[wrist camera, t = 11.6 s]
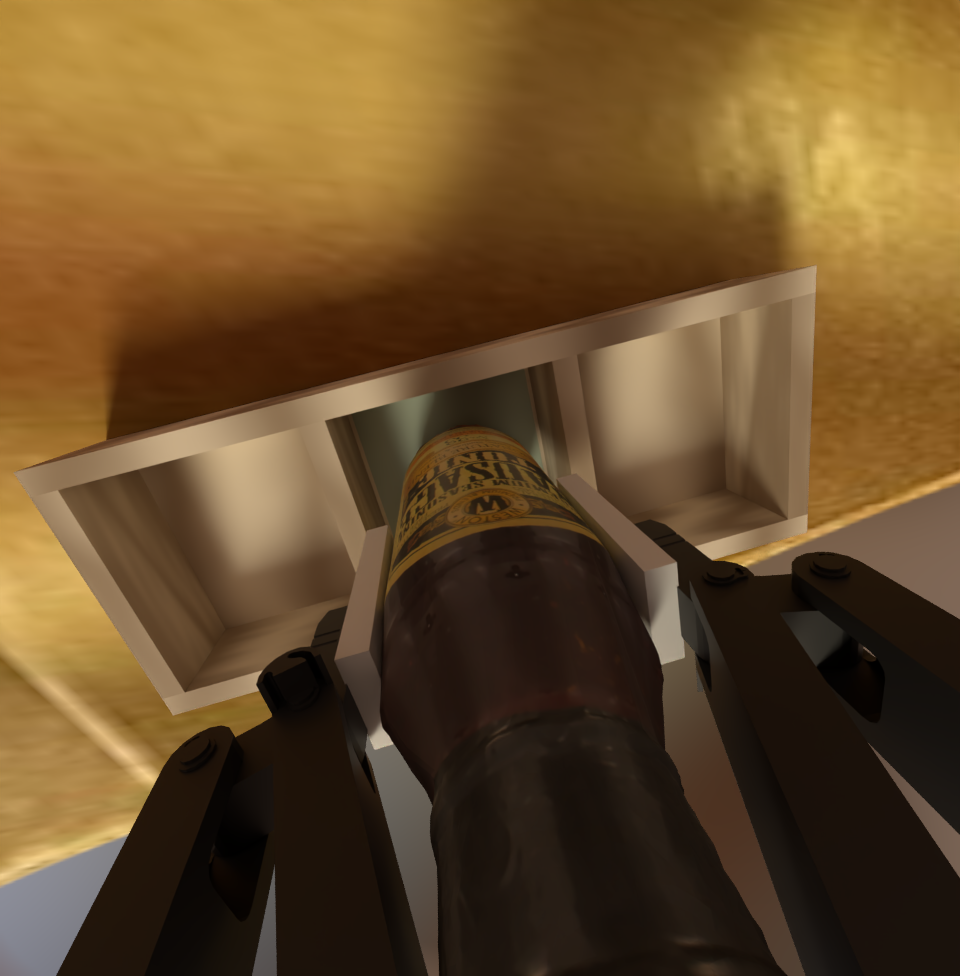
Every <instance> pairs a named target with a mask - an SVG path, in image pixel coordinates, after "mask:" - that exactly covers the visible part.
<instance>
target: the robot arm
mask: <svg viewBox="0 0 960 976" xmlns="http://www.w3.org/2000/svg"><path fill="white" fill-rule="evenodd" d="M556 481H557V486H558V489H559V491H560V492H561V493H562V494H563V495H564V497H565V498H566V499H567V500H568V501H569V502H570V504H571V505H572V507H573V508H574V509H575V511H576V512H577V513H578V514H579V516H580V517H581V518H582V519H583V521H584V522H585V523H586V524H587V525H588V527H589V528H591V530H592V531H593V533H594V534H595V535H596V537H597V538H598V539H599V541H600V542H601V543H602V544H603V546H604V547H605V548H606V550H607V551H608V552H609V554H610V556H611V558H612V560H613V562H614V564H615V566H616V568H617V570H618V572H619V574H620V576H621V578H622V580H623V582H624V584H625V586H626V588H627V590H628V592H629V595H630V597H631V599H632V601H633V603H634V605H635V607H636V609H637V611H638V613H639V615H640V617H641V619H642V621H643V623H644V625H645V627H646V629H647V631H648V633H649V635H650V637H651V639H652V641H653V643H654V645H655V647H656V650H657V652H658V654H659V658H660V662H661V665H662V664H665V663H668V662H672V661H675V660H678V659H681V658H685V654H684V641H683V639H684V640H685V641H686V642H687V643H688V644H689V645H690V647H691V648H692V649H693V650H694V651H695V660H696V673H697V687H698V692H702V691H703V688H704V691H705V694H706V697H707V699H708V702H709V705H710V708H711V711H712V713H713V716H714V719H715V722H716V725H717V728H718V730H719V733H720V736H721V739H722V742H723V744H724V747H725V750H726V753H727V756H728V759H729V761H730V764H731V767H732V770H733V773H734V776H735V778H736V781H737V784H738V787H739V790H740V792H741V795H742V798H743V801H744V804H745V807H746V809H747V812H748V815H749V818H750V820H751V823H752V826H753V829H754V832H755V835H756V838H757V840H758V843H759V846H760V849H761V852H762V854H763V857H764V860H765V863H766V866H767V869H768V871H769V874H770V877H771V880H772V883H773V885H774V888H775V891H776V894H777V897H778V900H779V902H780V905H781V908H782V911H783V913H784V916H785V919H786V922H787V925H788V928H789V930H790V933H791V936H792V939H793V942H794V945H795V947H796V950H797V953H798V956H799V959H800V961H801V964H802V967H803V970H804V972H805V976H960V878H959V876H958V875H957V873H956V872H955V871H954V869H953V867H952V866H951V864H950V863H949V861H948V860H947V859H946V857H945V856H944V854H943V853H942V851H941V850H940V848H939V847H938V845H937V844H936V842H935V841H934V840H933V838H932V837H931V835H930V834H929V832H928V831H927V829H926V828H925V826H924V825H923V823H922V822H921V820H920V819H919V817H918V816H917V815H916V813H915V812H914V810H913V808H912V807H911V806H910V804H909V803H908V801H907V800H906V798H905V797H904V795H903V794H902V792H901V791H900V789H899V788H898V787H897V785H896V783H895V782H894V781H893V779H892V778H891V776H890V775H889V773H888V772H887V770H886V769H885V768H884V766H883V764H882V763H881V761H880V760H879V758H878V757H877V756H876V754H875V753H874V751H873V750H872V748H871V747H870V745H871V746H872V747H873V748H874V749H875V750H876V751H877V752H878V753H879V754H880V755H881V756H882V757H883V758H884V759H885V760H886V761H887V762H888V763H889V764H890V765H891V766H892V767H893V768H894V769H895V770H896V771H897V772H898V773H899V774H900V775H901V776H902V777H903V778H904V779H905V780H906V781H907V782H908V783H909V784H910V785H911V786H912V787H913V788H914V789H915V790H916V791H917V792H918V793H919V794H920V795H921V796H922V797H923V798H924V799H925V800H926V801H927V802H928V803H929V804H930V805H931V806H932V807H933V808H934V809H935V810H936V811H937V812H938V813H939V814H940V815H941V816H942V817H943V818H944V819H945V820H946V821H947V822H948V823H949V824H950V825H951V826H952V827H953V828H954V829H955V830H956V831H957V832H958V833H959V834H960V619H958V618H957V617H955V616H953V615H952V614H949V613H948V612H946V611H945V610H943V609H941V608H939V607H938V606H936V605H934V604H933V603H931V602H929V601H927V600H926V599H924V598H922V597H921V596H919V595H917V594H915V593H914V592H912V591H910V590H908V589H907V588H905V587H903V586H902V585H900V584H898V583H896V582H895V581H893V580H891V579H890V578H888V577H886V576H884V575H883V574H881V573H879V572H878V571H876V570H874V569H872V568H871V567H869V566H867V565H866V564H864V563H862V562H860V561H858V560H856V559H853V558H851V557H849V556H845V555H841V554H836V553H831V552H815V553H806V554H803V555H801V556H798V557H796V559H795V560H794V561H793V562H792V574H785V575H772V576H754V574H753V573H752V572H750V571H749V570H748V569H747V568H746V567H743V566H741V565H739V564H736V563H732V562H727V561H712V560H711V559H710V558H708V557H707V556H706V555H705V554H703V553H702V552H701V551H699V550H698V549H697V548H696V547H694V546H693V545H692V544H690V543H689V542H688V541H685V539H684V538H683V537H681V536H680V535H679V534H676V532H675V531H674V530H672V529H671V528H670V527H668V526H667V525H666V524H663V523H660V522H657V521H654V520H651V519H649V520H646V521H642V522H639V523H635V524H633V523H632V522H631V521H630V520H628V519H627V518H626V517H625V516H624V515H623V514H622V513H621V512H619V511H618V510H617V509H616V508H615V507H614V506H613V505H611V504H610V503H609V502H608V501H607V500H606V499H605V498H604V497H602V496H601V495H600V494H599V493H598V492H597V491H596V490H595V489H593V488H592V487H591V486H590V485H589V484H588V483H587V482H585V481H584V480H583V479H582V478H581V477H580V476H579V475H578V474H572V475H568V476H565V477H561V478H557V479H556ZM393 547H394V541H393V538H392V535H391V532H390V530H389V527H388V525H385V526H382V527H378V528H375V529H371V530H367V532H366V536H365V540H364V544H363V548H362V552H361V556H360V560H359V564H358V568H357V572H356V576H355V580H354V584H353V588H352V592H351V596H350V600H349V604H348V606H344V607H341V608H337V609H334V610H330V611H328V612H327V613H326V615H325V616H324V617H323V618H322V620H321V621H320V622H319V623H318V625H317V628H316V631H315V634H314V639H313V640H312V643H311V646H308V647H299V648H296V649H293V650H290V651H287V652H286V653H284V654H282V655H281V656H279V657H277V658H276V659H274V660H273V661H272V662H271V663H270V664H268V665H267V666H266V667H265V668H264V670H263V671H262V672H261V674H260V675H259V677H258V680H257V683H256V686H257V687H258V689H259V691H260V693H261V695H262V697H263V698H264V700H265V702H266V704H267V706H268V708H269V709H270V711H271V713H272V717H271V718H270V719H268V720H266V721H265V722H263V723H262V724H260V725H258V726H256V727H254V728H252V729H250V730H248V731H247V732H245V733H243V734H241V735H239V736H237V737H235V736H234V734H233V733H232V731H231V730H230V728H229V727H225V726H216V727H211V728H208V729H206V730H204V731H202V732H200V733H198V734H196V735H194V736H193V737H192V738H190V739H188V740H187V741H186V742H185V743H183V744H182V745H181V746H180V747H179V748H178V749H177V750H176V751H175V752H174V753H173V754H172V755H171V757H170V758H169V760H168V761H167V762H166V764H165V765H164V767H163V769H162V771H161V773H160V775H159V777H158V779H157V780H156V782H155V784H154V786H153V788H152V790H151V792H150V794H149V796H148V798H147V800H146V802H145V804H144V806H143V808H142V810H141V812H140V814H139V815H138V817H137V819H136V821H135V823H134V825H133V827H132V829H131V831H130V833H129V835H128V837H127V839H126V841H125V843H124V845H123V847H122V849H121V850H120V853H119V854H118V856H117V858H116V860H115V862H114V864H113V866H112V868H111V870H110V872H109V874H108V876H107V878H106V880H105V882H104V884H103V885H102V888H101V889H100V891H99V893H98V895H97V897H96V899H95V901H94V903H93V905H92V907H91V909H90V911H89V913H88V915H87V917H86V919H85V921H84V923H83V924H82V926H81V928H80V930H79V932H78V934H77V936H76V938H75V940H74V942H73V944H72V946H71V948H70V950H69V952H68V954H67V956H66V957H65V960H64V961H63V963H62V965H61V967H60V969H59V971H58V973H57V975H56V976H252V972H253V967H254V963H255V957H256V953H257V948H258V943H259V939H260V934H261V929H262V924H263V919H264V914H265V909H266V904H267V899H268V895H269V890H270V885H271V880H272V875H273V870H274V866H275V895H276V897H275V898H276V949H277V976H428V973H427V969H426V966H425V962H424V958H423V954H422V951H421V947H420V943H419V940H418V936H417V932H416V928H415V925H414V921H413V917H412V914H411V910H410V906H409V902H408V899H407V895H406V891H405V888H404V884H403V880H402V877H401V873H400V869H399V865H398V862H397V858H396V854H395V851H394V847H393V843H392V839H391V836H390V832H389V828H388V824H387V821H386V817H385V813H384V809H383V806H382V802H381V798H380V795H379V791H378V787H377V784H376V780H375V776H374V772H373V769H372V765H371V763H370V760H369V758H368V756H367V754H366V752H365V748H366V740H367V734H368V736H369V738H370V741H371V743H372V745H373V747H374V749H379V748H382V747H385V746H389V745H392V744H394V743H393V742H392V741H391V739H390V737H389V735H388V734H387V733H386V732H385V731H384V729H383V728H382V724H381V718H380V694H381V672H382V647H383V620H384V603H385V596H386V590H387V584H388V578H389V572H390V566H391V561H392V555H393ZM863 647H866V648H867V649H868V650H869V651H871V653H872V654H873V655H874V656H875V657H874V656H872V655H871V654H870V653H868V652H867V651H866V650H865V649H863ZM868 743H869V744H870V745H869V744H868Z"/></svg>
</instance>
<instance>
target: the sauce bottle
mask: <svg viewBox="0 0 960 976" xmlns="http://www.w3.org/2000/svg"><path fill="white" fill-rule="evenodd" d="M663 681H664V679H663V674H662V669H661V662H660V658H659V654H658V652H657V650H656V647H655V645H654V643H653V641H652V639H651V637H650V635H649V633H648V631H647V629H646V627H645V625H644V623H643V621H642V619H641V617H640V615H639V613H638V611H637V609H636V607H635V605H634V603H633V601H632V599H631V597H630V595H629V592H628V590H627V588H626V586H625V584H624V582H623V580H622V578H621V576H620V574H619V572H618V570H617V568H616V566H615V564H614V562H613V560H612V558H611V556H610V554H609V552H608V551H607V550H606V548H605V547H604V546H603V544H602V543H601V542H600V541H599V539H598V538H597V537H596V535H595V534H594V533H593V531H592V530H591V528H589V527H588V525H587V524H586V523H585V522H584V521H583V519H582V518H581V517H580V516H579V514H578V513H577V512H576V511H575V509H574V508H573V507H572V505H571V504H570V502H569V501H568V500H567V499H566V498H565V497H564V495H563V494H562V493H561V492H560V491H559V489H558V488H557V487H556V486H555V484H554V483H553V482H552V480H551V479H550V478H549V477H548V476H547V475H546V473H545V472H544V471H543V470H542V468H541V467H540V466H539V465H538V463H537V462H536V461H535V460H534V458H533V457H532V456H531V455H530V454H529V452H528V451H527V450H526V449H525V448H524V447H523V446H522V445H521V444H520V443H519V442H518V441H517V440H516V439H514V438H512V437H510V436H509V435H507V434H505V433H503V432H500V431H497V430H495V429H493V428H488V427H484V426H480V425H477V424H475V425H457V426H455V427H452V428H450V429H448V430H446V431H444V432H442V433H441V434H437V435H436V436H435V437H433V438H432V439H431V440H430V441H428V442H427V443H425V444H424V445H423V446H422V447H421V448H420V449H419V450H418V451H417V453H416V455H415V457H414V458H413V459H412V461H411V463H410V465H409V467H408V469H407V471H406V474H405V478H404V482H403V488H402V495H401V503H400V509H399V516H398V521H397V526H396V533H395V539H394V547H393V555H392V561H391V566H390V572H389V578H388V584H387V590H386V596H385V603H384V620H383V647H382V672H381V694H380V718H381V724H382V728H383V729H384V731H385V732H386V733H387V734H388V735H389V737H390V739H391V741H392V742H393V743H394V745H395V746H396V747H397V749H398V750H399V752H400V753H401V755H402V756H403V758H404V760H405V761H406V763H407V764H408V766H409V768H410V769H411V771H412V773H413V774H414V775H415V776H416V778H417V779H418V781H419V782H420V783H421V785H422V786H423V787H424V789H425V790H426V792H427V794H428V797H429V799H430V801H431V803H432V805H433V807H432V812H431V816H430V837H431V844H432V848H433V852H434V857H435V860H436V865H437V878H438V952H439V976H787V975H786V974H785V973H784V971H783V970H782V969H781V968H780V967H779V966H778V965H777V963H776V961H775V960H774V958H773V956H772V954H771V952H770V950H769V948H768V945H767V943H766V940H765V937H764V935H763V932H762V930H761V928H760V927H759V926H758V924H757V923H756V921H755V920H754V918H753V917H752V916H751V914H750V912H749V910H748V909H747V907H746V905H745V903H744V901H743V899H742V897H741V896H740V894H739V892H738V890H737V888H736V887H735V885H734V884H733V882H732V881H731V879H730V878H729V876H728V875H727V874H726V872H725V871H724V869H723V866H722V864H721V861H720V859H719V856H718V854H717V851H716V849H715V846H714V844H713V842H712V841H711V839H710V838H709V836H708V835H707V833H706V832H705V830H704V829H703V827H702V826H701V824H700V822H699V820H698V818H697V816H696V814H695V812H694V811H693V809H692V808H691V807H690V805H689V804H688V802H687V800H686V798H685V796H684V789H683V787H682V785H681V779H680V775H679V774H678V771H677V768H676V766H675V764H674V763H673V761H672V759H671V758H670V756H669V754H668V753H667V752H666V751H665V736H664V715H663V703H662V702H663V701H662V690H663Z"/></svg>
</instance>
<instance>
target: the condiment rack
mask: <svg viewBox="0 0 960 976" xmlns="http://www.w3.org/2000/svg"><path fill="white" fill-rule="evenodd" d="M816 266H817V265H815V266H809V267H803V268H797V269H791V270H785V271H779V272H773V273H767V274H761V275H756V276H750V277H744V278H738V279H732V280H728V281H724V282H720V283H716V284H712V285H708V286H704V287H701V288H697V289H693V290H689V291H685V292H681V293H677V294H673V295H669V296H666V297H662V298H658V299H654V300H650V301H646V302H642V303H638V304H634V305H631V306H627V307H623V308H619V309H615V310H611V311H607V312H603V313H599V314H596V315H592V316H588V317H584V318H580V319H576V320H572V321H568V322H564V323H561V324H557V325H553V326H549V327H545V328H541V329H537V330H533V331H529V332H526V333H522V334H518V335H514V336H510V337H506V338H502V339H498V340H494V341H491V342H487V343H483V344H479V345H475V346H471V347H467V348H463V349H460V350H456V351H452V352H448V353H444V354H440V355H436V356H432V357H428V358H425V359H421V360H417V361H413V362H409V363H405V364H401V365H397V366H393V367H390V368H386V369H382V370H378V371H374V372H370V373H366V374H362V375H358V376H355V377H351V378H347V379H343V380H339V381H335V382H331V383H327V384H323V385H320V386H316V387H312V388H308V389H304V390H300V391H296V392H292V393H288V394H285V395H281V396H277V397H273V398H269V399H265V400H261V401H257V402H253V403H250V404H246V405H242V406H238V407H234V408H230V409H226V410H222V411H218V412H215V413H211V414H207V415H203V416H199V417H195V418H191V419H187V420H183V421H180V422H176V423H172V424H168V425H164V426H160V427H156V428H152V429H148V430H145V431H141V432H137V433H133V434H129V435H125V436H121V437H117V438H113V439H110V440H106V441H103V442H100V443H97V444H94V445H91V446H88V447H85V448H83V449H80V450H77V451H74V452H71V453H68V454H65V455H62V456H59V457H57V458H54V459H51V460H48V461H45V462H42V463H39V464H36V465H33V466H31V467H28V468H25V469H22V470H19V471H16V472H14V474H15V475H16V477H17V478H18V480H19V481H20V483H21V484H22V486H23V488H24V489H25V491H26V492H27V494H28V495H29V497H30V498H31V500H32V501H33V503H34V504H35V506H36V507H37V509H38V510H39V512H40V513H41V515H42V516H43V518H44V519H45V521H46V523H47V524H48V526H49V527H50V529H51V530H52V532H53V533H54V535H55V536H56V538H57V539H58V541H59V542H60V544H61V545H62V547H63V548H64V550H65V551H66V553H67V554H68V556H69V558H70V559H71V561H72V562H73V564H74V565H75V567H76V568H77V570H78V571H79V573H80V574H81V576H82V577H83V579H84V580H85V582H86V583H87V585H88V586H89V588H90V589H91V591H92V593H93V594H94V596H95V597H96V599H97V600H98V602H99V603H100V605H101V606H102V608H103V609H104V611H105V612H106V614H107V615H108V617H109V618H110V620H111V621H112V623H113V624H114V626H115V628H116V629H117V631H118V632H119V634H120V635H121V637H122V638H123V640H124V641H125V643H126V644H127V646H128V647H129V649H130V650H131V652H132V653H133V655H134V656H135V658H136V659H137V661H138V663H139V664H140V666H141V667H142V669H143V670H144V672H145V673H146V675H147V676H148V678H149V679H150V681H151V682H152V684H153V685H154V687H155V688H156V690H157V691H158V693H159V694H160V696H161V698H162V699H163V701H164V702H165V704H166V705H167V707H168V708H169V710H170V711H171V713H172V714H173V715H176V714H179V713H183V712H186V711H190V710H193V709H197V708H200V707H204V706H207V705H211V704H214V703H217V702H221V701H224V700H228V699H231V698H235V697H238V696H242V695H245V694H249V693H252V692H256V691H259V689H258V687H257V686H256V683H257V680H258V677H259V675H260V674H261V672H262V671H263V670H264V668H265V667H266V666H267V665H268V664H270V663H271V662H272V661H273V660H274V659H276V658H277V657H279V656H281V655H282V654H284V653H286V652H287V651H290V650H293V649H296V648H299V647H308V646H311V643H312V640H313V639H314V634H315V631H316V628H317V625H318V623H319V622H320V621H321V620H322V618H323V617H324V616H325V615H326V613H327V612H328V611H330V610H334V609H337V608H341V607H344V606H348V604H349V600H350V596H351V592H352V588H353V584H354V580H355V576H356V572H357V568H358V564H359V560H360V556H361V552H362V548H363V544H364V540H365V536H366V532H367V530H371V529H375V528H378V527H382V526H385V525H388V527H389V530H390V532H391V535H392V538H393V541H394V539H395V533H396V526H397V521H398V516H399V509H400V503H401V495H402V488H403V482H404V478H405V474H406V471H407V469H408V467H409V465H410V463H411V461H412V459H413V458H414V457H415V455H416V453H417V451H418V450H419V449H420V448H421V447H422V446H423V445H424V444H425V443H427V442H428V441H430V440H431V439H432V438H433V437H435V436H436V435H437V434H441V433H442V432H444V431H446V430H448V429H450V428H452V427H455V426H457V425H475V424H477V425H480V426H484V427H488V428H493V429H495V430H497V431H500V432H503V433H505V434H507V435H509V436H510V437H512V438H514V439H516V440H517V441H518V442H519V443H520V444H521V445H522V446H523V447H524V448H525V449H526V450H527V451H528V452H529V454H530V455H531V456H532V457H533V458H534V460H535V461H536V462H537V463H538V465H539V466H540V467H541V468H542V470H543V471H544V472H545V473H546V475H547V476H548V477H549V478H550V479H551V480H552V482H553V483H554V484H555V486H556V487H557V488H558V486H557V481H556V479H557V478H561V477H565V476H568V475H572V474H578V475H579V476H580V477H581V478H582V479H583V480H584V481H585V482H587V483H588V484H589V485H590V486H591V487H592V488H593V489H595V490H596V491H597V492H598V493H599V494H600V495H601V496H602V497H604V498H605V499H606V500H607V501H608V502H609V503H610V504H611V505H613V506H614V507H615V508H616V509H617V510H618V511H619V512H621V513H622V514H623V515H624V516H625V517H626V518H627V519H628V520H630V521H631V522H632V523H633V524H635V523H639V522H642V521H646V520H649V519H651V520H654V521H657V522H660V523H663V524H666V525H667V526H668V527H670V528H671V529H672V530H674V531H675V532H676V534H679V535H680V536H681V537H683V538H684V539H685V541H688V542H689V543H690V544H692V545H693V546H694V547H696V548H697V549H698V550H699V551H701V552H702V553H703V554H705V555H706V556H707V557H708V558H710V559H711V560H713V559H716V558H720V557H723V556H727V555H730V554H734V553H737V552H741V551H744V550H748V549H751V548H755V547H758V546H761V545H765V544H768V543H772V542H775V541H779V540H782V539H786V538H789V537H793V536H796V535H800V534H803V533H807V516H808V488H809V460H810V433H811V405H812V377H813V349H814V322H815V294H816Z"/></svg>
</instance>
